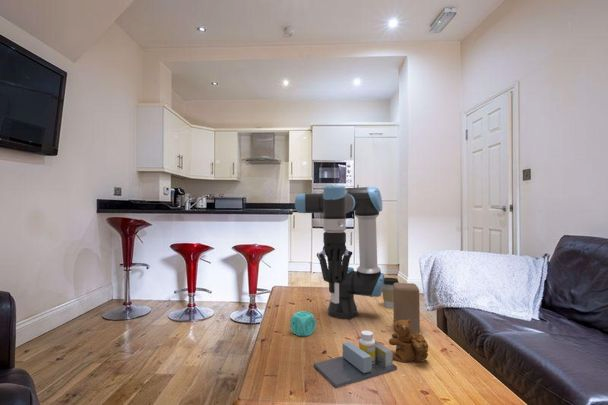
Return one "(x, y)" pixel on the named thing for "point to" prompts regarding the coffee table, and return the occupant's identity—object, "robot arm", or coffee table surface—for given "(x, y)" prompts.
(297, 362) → the coffee table surface
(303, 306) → the coffee table surface
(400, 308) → the block
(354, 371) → the vise base
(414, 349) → the stuffed squirrel
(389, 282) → the coffee cup
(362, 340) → the supplement bottle
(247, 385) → the coffee table surface
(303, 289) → the coffee table surface
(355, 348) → the sliding jaw
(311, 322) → the decorative dice
